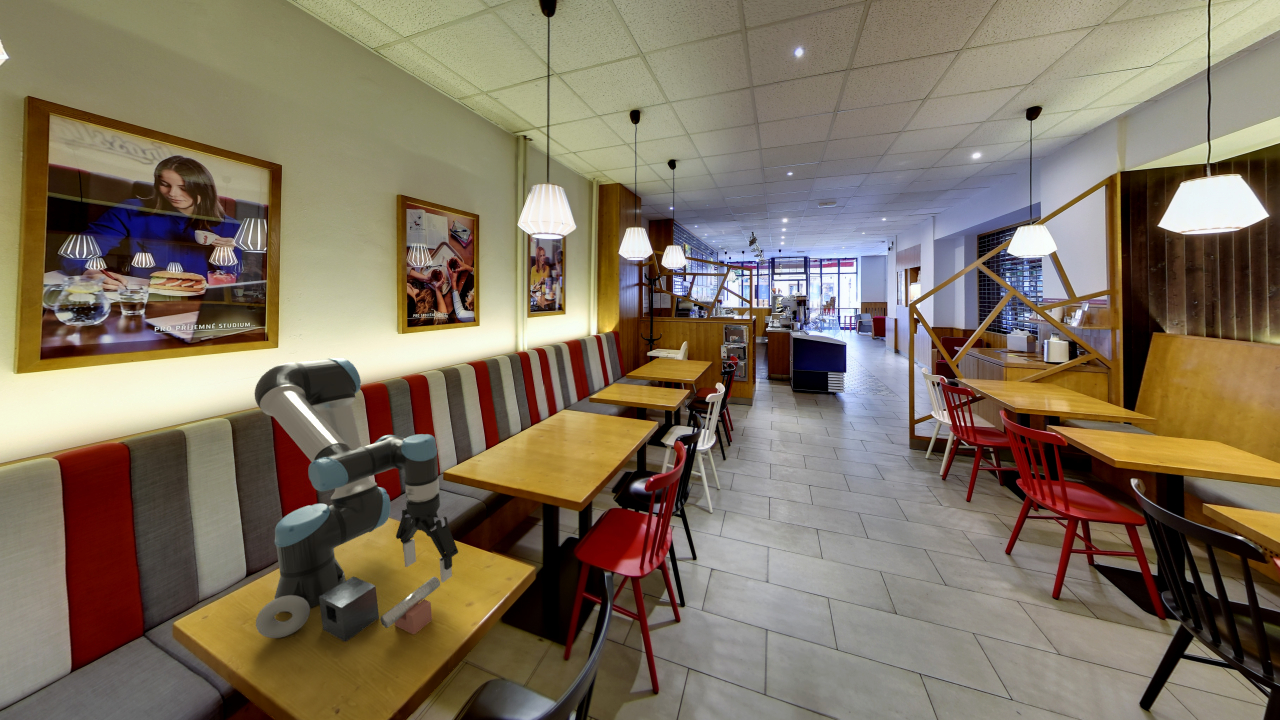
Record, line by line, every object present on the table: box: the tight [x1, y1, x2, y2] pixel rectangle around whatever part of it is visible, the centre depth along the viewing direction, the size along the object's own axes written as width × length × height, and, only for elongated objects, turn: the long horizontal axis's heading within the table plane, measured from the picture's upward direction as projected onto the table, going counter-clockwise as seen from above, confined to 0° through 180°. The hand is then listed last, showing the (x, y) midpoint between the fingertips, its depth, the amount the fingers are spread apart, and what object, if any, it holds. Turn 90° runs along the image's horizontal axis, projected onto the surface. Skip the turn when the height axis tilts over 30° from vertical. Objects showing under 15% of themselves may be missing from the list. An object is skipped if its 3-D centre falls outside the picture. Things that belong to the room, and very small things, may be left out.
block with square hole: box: [319, 576, 380, 643], centre depth 99 cm, size 9×8×9 cm
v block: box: [393, 598, 433, 635], centre depth 100 cm, size 7×5×5 cm
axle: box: [379, 576, 441, 629], centre depth 100 cm, size 3×14×3 cm, turn 158°
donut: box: [255, 595, 311, 639], centre depth 96 cm, size 10×4×10 cm, turn 117°
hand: (428, 571), depth 105 cm, fingers open, 13 cm apart
